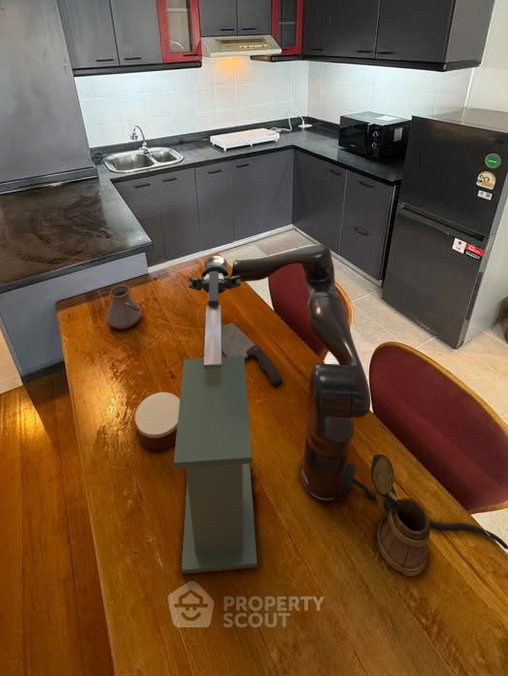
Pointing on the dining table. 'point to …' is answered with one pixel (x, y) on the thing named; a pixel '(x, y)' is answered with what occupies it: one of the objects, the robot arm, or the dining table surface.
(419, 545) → the wooden mug
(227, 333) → the cleaver
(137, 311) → the coffee pot
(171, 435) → the cake
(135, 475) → the dining table surface
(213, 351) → the knife
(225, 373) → the display stand
